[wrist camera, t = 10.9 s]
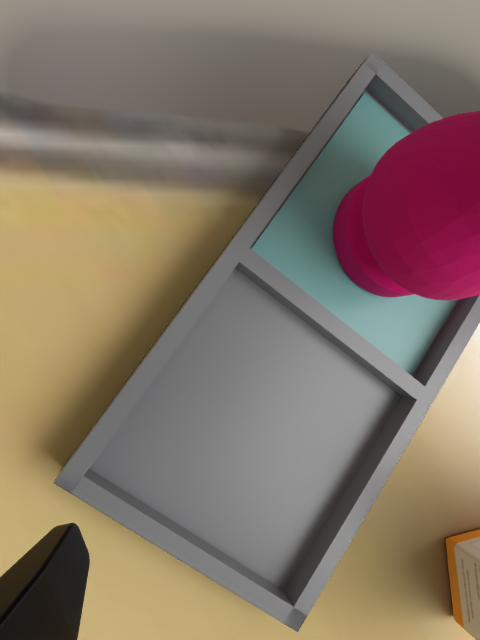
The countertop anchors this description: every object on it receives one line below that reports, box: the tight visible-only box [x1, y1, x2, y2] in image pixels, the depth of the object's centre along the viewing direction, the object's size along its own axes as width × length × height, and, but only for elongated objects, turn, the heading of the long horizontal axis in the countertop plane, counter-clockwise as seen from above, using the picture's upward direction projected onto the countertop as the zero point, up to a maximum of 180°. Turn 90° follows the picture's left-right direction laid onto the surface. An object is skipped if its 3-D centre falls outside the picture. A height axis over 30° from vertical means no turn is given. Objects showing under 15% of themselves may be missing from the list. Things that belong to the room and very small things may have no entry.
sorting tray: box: [54, 51, 480, 632], centre depth 21 cm, size 24×13×2 cm, turn 144°
